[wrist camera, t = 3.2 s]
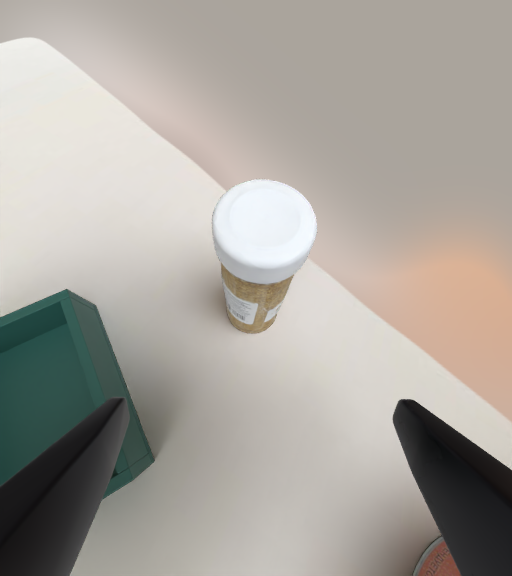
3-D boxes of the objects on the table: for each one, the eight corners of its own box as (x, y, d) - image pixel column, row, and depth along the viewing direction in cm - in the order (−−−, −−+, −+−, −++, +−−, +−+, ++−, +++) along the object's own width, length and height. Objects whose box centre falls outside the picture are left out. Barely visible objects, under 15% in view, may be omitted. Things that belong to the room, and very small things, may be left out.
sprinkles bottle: (284, 324, 23) (338, 247, 10) (235, 342, 22) (231, 281, 10) (265, 279, 24) (293, 164, 12) (219, 294, 23) (196, 188, 11)
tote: (154, 461, 19) (133, 479, 15) (-12, 565, 16) (-90, 620, 12) (96, 305, 22) (66, 288, 19) (-46, 370, 20) (-114, 365, 16)
